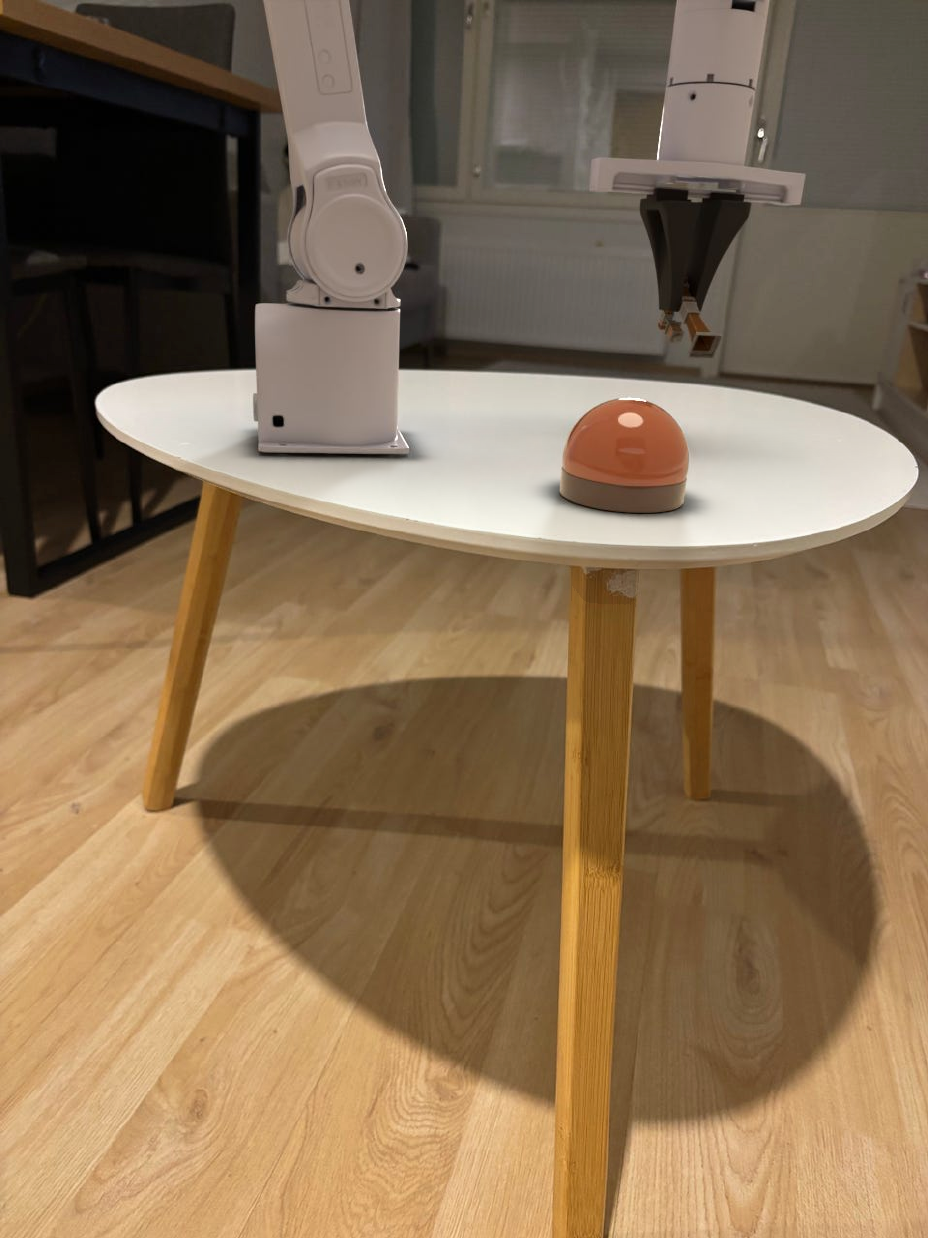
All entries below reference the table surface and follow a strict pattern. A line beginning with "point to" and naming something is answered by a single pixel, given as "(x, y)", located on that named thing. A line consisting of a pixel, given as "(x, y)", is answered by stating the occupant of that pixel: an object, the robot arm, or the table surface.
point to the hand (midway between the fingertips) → (679, 311)
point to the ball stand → (626, 459)
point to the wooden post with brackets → (690, 327)
